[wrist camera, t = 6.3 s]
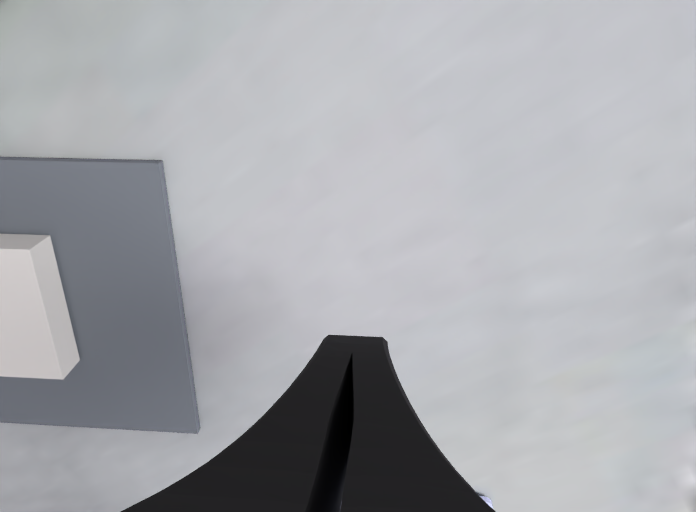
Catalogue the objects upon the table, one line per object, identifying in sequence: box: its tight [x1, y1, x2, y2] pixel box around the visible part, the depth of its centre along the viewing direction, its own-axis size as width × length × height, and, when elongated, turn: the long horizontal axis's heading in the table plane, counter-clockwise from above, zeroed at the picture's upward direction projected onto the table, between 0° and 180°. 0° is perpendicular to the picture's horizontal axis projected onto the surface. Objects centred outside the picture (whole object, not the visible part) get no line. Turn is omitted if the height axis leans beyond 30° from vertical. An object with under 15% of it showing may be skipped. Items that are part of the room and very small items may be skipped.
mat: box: [0, 157, 200, 434], centre depth 25 cm, size 13×12×1 cm
